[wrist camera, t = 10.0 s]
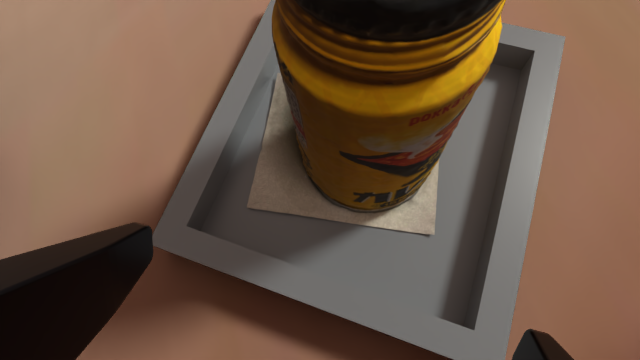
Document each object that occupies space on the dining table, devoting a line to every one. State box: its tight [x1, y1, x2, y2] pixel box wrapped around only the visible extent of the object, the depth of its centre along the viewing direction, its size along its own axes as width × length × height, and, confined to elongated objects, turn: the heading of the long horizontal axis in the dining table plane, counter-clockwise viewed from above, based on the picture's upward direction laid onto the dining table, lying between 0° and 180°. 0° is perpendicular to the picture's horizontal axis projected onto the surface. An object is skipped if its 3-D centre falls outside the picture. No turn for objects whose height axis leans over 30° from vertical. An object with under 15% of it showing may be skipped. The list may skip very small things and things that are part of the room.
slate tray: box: [152, 0, 565, 360], centre depth 18 cm, size 15×14×2 cm
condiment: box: [247, 0, 506, 235], centre depth 13 cm, size 7×8×12 cm
